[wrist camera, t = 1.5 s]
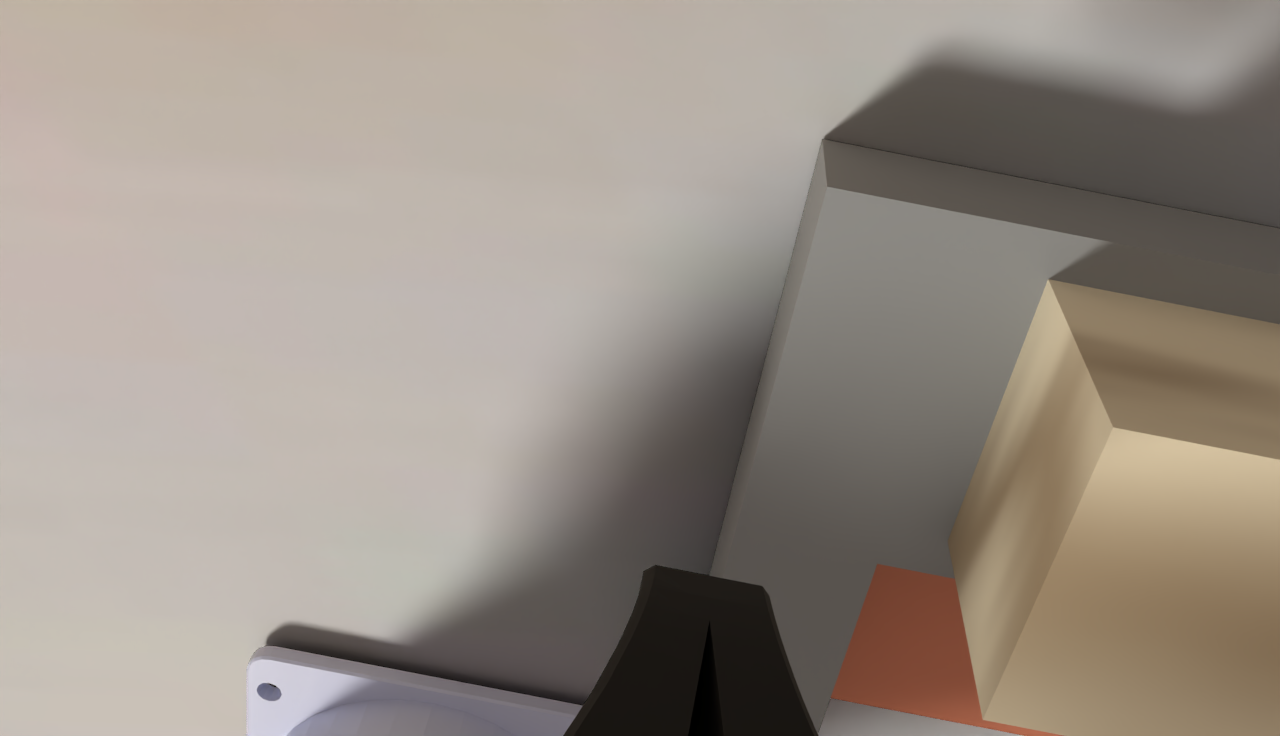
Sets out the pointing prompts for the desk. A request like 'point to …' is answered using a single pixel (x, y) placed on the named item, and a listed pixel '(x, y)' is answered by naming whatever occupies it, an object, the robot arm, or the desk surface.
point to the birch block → (1128, 524)
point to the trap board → (924, 397)
